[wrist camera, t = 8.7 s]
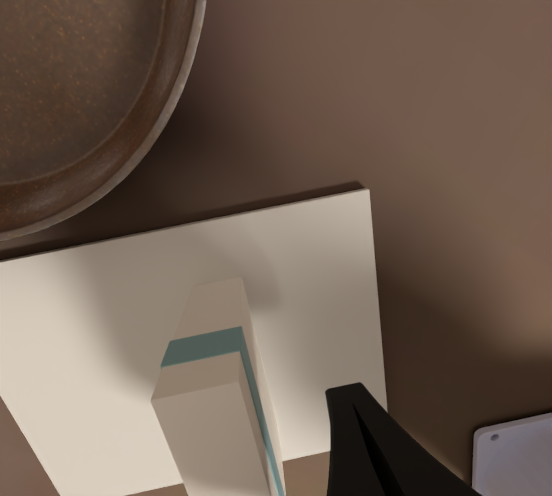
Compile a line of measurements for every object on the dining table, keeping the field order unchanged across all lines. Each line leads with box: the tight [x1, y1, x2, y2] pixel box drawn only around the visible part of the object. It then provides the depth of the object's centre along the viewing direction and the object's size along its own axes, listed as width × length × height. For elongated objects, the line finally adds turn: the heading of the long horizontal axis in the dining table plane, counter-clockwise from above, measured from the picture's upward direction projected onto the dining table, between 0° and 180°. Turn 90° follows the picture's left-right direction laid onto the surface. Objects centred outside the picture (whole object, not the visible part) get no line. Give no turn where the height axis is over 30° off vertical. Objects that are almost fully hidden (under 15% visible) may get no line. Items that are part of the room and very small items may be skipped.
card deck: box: [150, 277, 286, 496], centre depth 12 cm, size 2×9×6 cm, turn 10°
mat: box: [0, 188, 388, 496], centre depth 15 cm, size 18×14×1 cm
